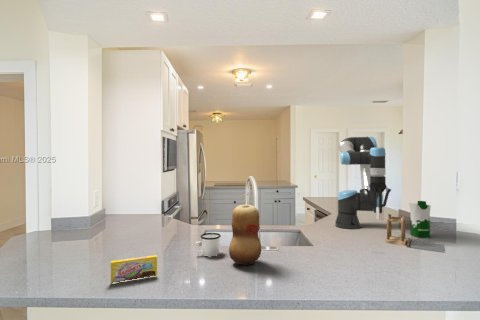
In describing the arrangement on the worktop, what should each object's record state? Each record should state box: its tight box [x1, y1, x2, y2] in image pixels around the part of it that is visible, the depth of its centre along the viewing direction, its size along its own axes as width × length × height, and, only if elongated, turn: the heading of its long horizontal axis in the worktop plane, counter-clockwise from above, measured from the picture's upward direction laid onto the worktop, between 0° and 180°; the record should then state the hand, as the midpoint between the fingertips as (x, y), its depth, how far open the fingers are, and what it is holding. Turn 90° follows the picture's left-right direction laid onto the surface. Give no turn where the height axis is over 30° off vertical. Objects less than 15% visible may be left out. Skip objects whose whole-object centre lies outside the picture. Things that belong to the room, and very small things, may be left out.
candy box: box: [110, 254, 158, 284], centre depth 105 cm, size 16×2×8 cm, turn 114°
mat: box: [409, 239, 446, 254], centre depth 142 cm, size 14×14×1 cm
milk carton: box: [409, 200, 431, 239], centre depth 160 cm, size 9×9×20 cm
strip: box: [406, 237, 411, 248], centre depth 146 cm, size 1×14×1 cm, turn 146°
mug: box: [194, 232, 221, 257], centre depth 132 cm, size 12×10×9 cm
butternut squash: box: [228, 204, 262, 266], centre depth 120 cm, size 14×13×25 cm
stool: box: [385, 213, 408, 246], centre depth 149 cm, size 9×9×14 cm
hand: (378, 218), depth 154 cm, fingers closed
